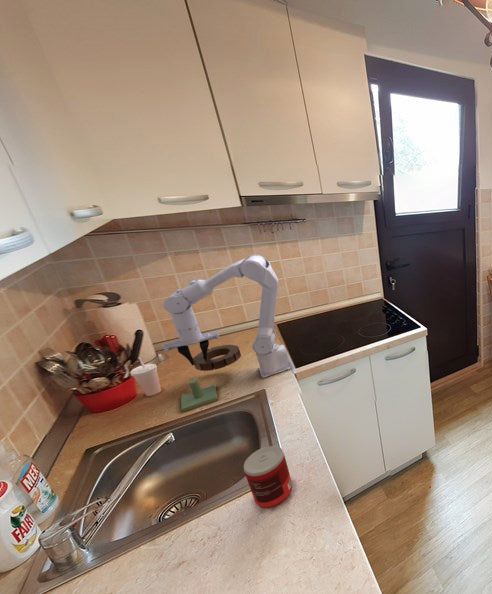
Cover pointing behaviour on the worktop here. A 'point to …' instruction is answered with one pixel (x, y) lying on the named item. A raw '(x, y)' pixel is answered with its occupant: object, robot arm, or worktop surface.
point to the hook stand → (197, 396)
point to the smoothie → (147, 378)
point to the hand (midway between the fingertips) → (199, 362)
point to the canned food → (268, 476)
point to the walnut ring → (230, 357)
